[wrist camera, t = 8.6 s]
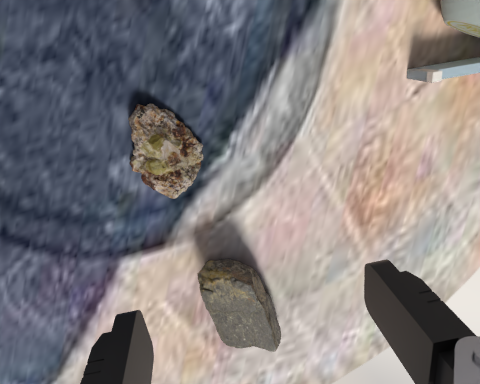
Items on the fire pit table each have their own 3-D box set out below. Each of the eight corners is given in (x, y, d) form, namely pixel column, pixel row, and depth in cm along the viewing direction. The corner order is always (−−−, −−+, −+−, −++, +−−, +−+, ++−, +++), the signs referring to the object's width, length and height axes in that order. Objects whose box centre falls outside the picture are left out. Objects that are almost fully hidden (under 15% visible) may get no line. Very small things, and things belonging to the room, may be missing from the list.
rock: (165, 299, 41) (233, 270, 37) (180, 261, 47) (240, 231, 43) (245, 377, 47) (310, 358, 43) (249, 335, 53) (307, 315, 49)
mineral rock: (220, 181, 38) (154, 214, 36) (209, 173, 42) (149, 203, 40) (181, 87, 34) (104, 119, 32) (173, 88, 38) (103, 117, 36)
